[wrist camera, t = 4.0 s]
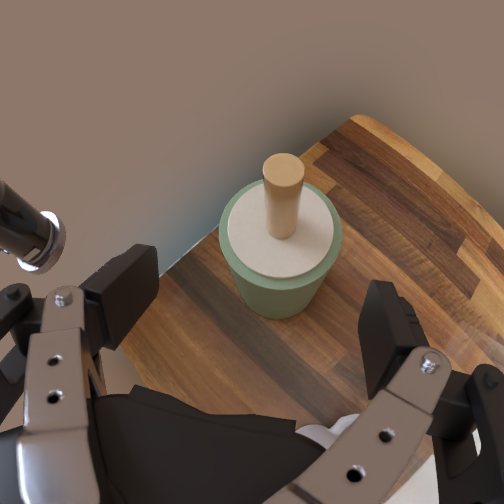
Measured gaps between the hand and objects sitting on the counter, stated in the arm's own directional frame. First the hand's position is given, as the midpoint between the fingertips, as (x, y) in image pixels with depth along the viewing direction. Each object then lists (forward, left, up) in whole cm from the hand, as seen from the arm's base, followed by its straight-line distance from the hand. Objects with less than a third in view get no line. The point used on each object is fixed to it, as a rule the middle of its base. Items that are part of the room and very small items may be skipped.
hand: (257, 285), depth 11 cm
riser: (+2, +7, -27) cm, 28 cm away
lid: (+2, +7, -11) cm, 14 cm away
